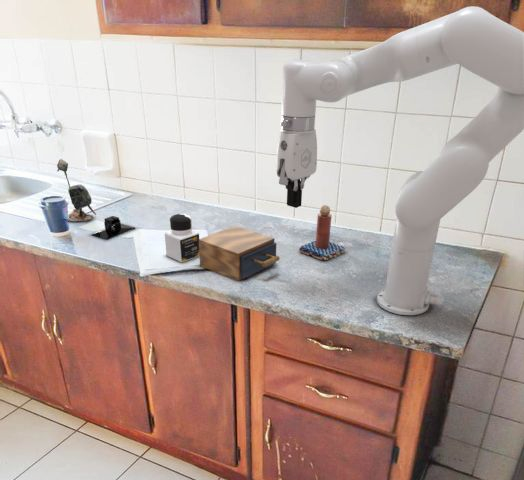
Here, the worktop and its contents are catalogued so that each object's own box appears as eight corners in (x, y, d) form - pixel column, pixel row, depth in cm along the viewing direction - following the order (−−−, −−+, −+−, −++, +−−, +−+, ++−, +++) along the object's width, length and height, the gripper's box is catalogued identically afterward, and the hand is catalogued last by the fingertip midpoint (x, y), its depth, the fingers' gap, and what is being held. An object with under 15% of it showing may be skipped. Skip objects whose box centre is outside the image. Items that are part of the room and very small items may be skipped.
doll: (331, 245, 154) (335, 205, 147) (323, 249, 151) (327, 208, 144) (320, 242, 156) (323, 202, 149) (312, 246, 153) (315, 205, 146)
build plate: (106, 240, 160) (104, 226, 158) (90, 235, 164) (88, 221, 161) (135, 228, 169) (133, 214, 167) (119, 224, 172) (117, 210, 170)
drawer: (287, 267, 143) (288, 247, 140) (255, 283, 134) (255, 262, 131) (240, 250, 152) (240, 231, 149) (207, 264, 144) (206, 244, 140)
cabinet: (273, 264, 147) (274, 238, 142) (238, 281, 137) (238, 253, 133) (235, 250, 155) (235, 225, 150) (199, 265, 145) (198, 239, 141)
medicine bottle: (182, 263, 146) (178, 222, 140) (166, 256, 151) (162, 215, 144) (200, 255, 151) (198, 215, 144) (184, 249, 155) (182, 210, 148)
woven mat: (346, 252, 154) (347, 246, 153) (324, 262, 148) (324, 256, 147) (320, 243, 161) (320, 237, 159) (297, 252, 154) (297, 245, 153)
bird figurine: (86, 225, 171) (75, 163, 160) (60, 220, 175) (47, 159, 164) (102, 218, 177) (92, 157, 166) (76, 213, 181) (65, 153, 170)
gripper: (290, 130, 107) (286, 217, 117) (330, 121, 117) (324, 202, 127) (263, 126, 111) (261, 209, 121) (304, 117, 121) (300, 196, 131)
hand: (293, 205), depth 124 cm, fingers closed
